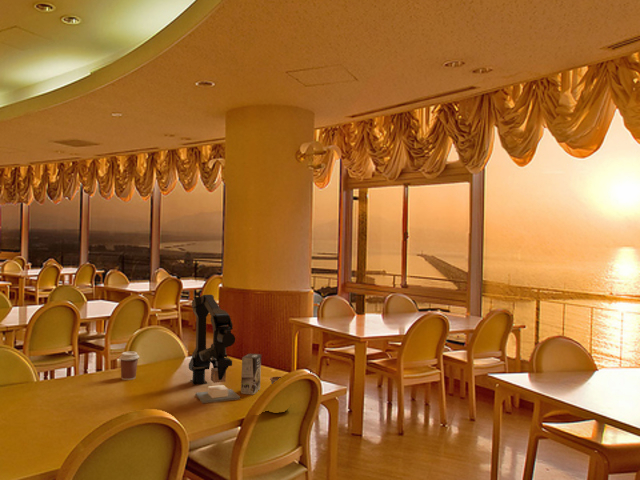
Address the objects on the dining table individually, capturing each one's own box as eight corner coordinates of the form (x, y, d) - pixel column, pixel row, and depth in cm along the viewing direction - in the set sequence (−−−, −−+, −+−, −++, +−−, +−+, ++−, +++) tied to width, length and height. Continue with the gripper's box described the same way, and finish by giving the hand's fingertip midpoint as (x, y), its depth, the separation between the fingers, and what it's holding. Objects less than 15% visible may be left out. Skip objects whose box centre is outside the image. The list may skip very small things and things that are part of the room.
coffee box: (254, 395, 227) (255, 358, 227) (240, 393, 228) (241, 357, 228) (260, 389, 236) (262, 354, 236) (247, 388, 237) (248, 352, 237)
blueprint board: (195, 395, 224) (196, 385, 224) (231, 391, 231) (231, 382, 231) (202, 403, 213) (203, 393, 213) (239, 399, 220) (240, 389, 220)
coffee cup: (142, 377, 247) (143, 352, 247) (126, 381, 240) (127, 356, 240) (130, 374, 252) (131, 350, 252) (114, 378, 245) (115, 353, 245)
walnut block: (210, 379, 223) (211, 368, 223) (222, 378, 226) (222, 367, 226) (214, 382, 219) (214, 371, 219) (225, 381, 221) (225, 370, 221)
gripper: (195, 338, 227) (194, 374, 227) (206, 347, 210) (205, 386, 210) (220, 337, 232) (219, 372, 232) (233, 346, 215) (231, 383, 215)
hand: (218, 378), depth 222 cm, fingers closed on walnut block, 5 cm apart
